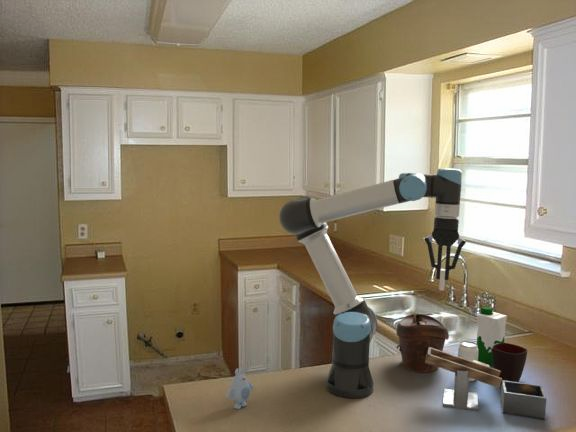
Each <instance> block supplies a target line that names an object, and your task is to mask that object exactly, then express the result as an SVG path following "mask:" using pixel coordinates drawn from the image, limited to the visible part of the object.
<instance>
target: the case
mask: <svg viewBox="0 0 576 432" xmlns="http://www.w3.org/2000/svg"><path fill="white" fill-rule="evenodd" d="M396 336H398V341H399V345H397V346H396V350H398V349H399V352H400V354H401V361H402V365H403V366H404V367H405V368H407V369H408V370H410V371H413V372H417V373H431V372H435V371H436V370H438V369H439V367H437V366H434V365H431V364H428V363H425V360H426V355H427V351H428V348H429V347H431V348H434V349H437V350H440V351H443V352H444V347H445V343H446V340H447V341H448V340H449V339H450V335H449V331H448V328H447V327H446V326H445V325H444V324H443V323H442V322H441V321H440V320H438V319H437V318H435V317H433V316H430V315H427V314H424V313H412V314H410V315H407V316H405V317H403V318H402V319H400V321H399V322H398V324H396Z"/></svg>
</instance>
